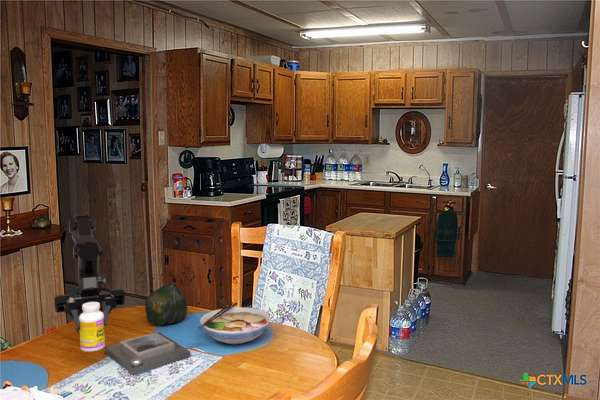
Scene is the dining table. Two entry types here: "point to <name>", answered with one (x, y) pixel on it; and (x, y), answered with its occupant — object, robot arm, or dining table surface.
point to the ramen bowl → (235, 324)
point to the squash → (166, 305)
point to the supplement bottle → (91, 327)
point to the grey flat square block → (146, 352)
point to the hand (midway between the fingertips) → (92, 327)
